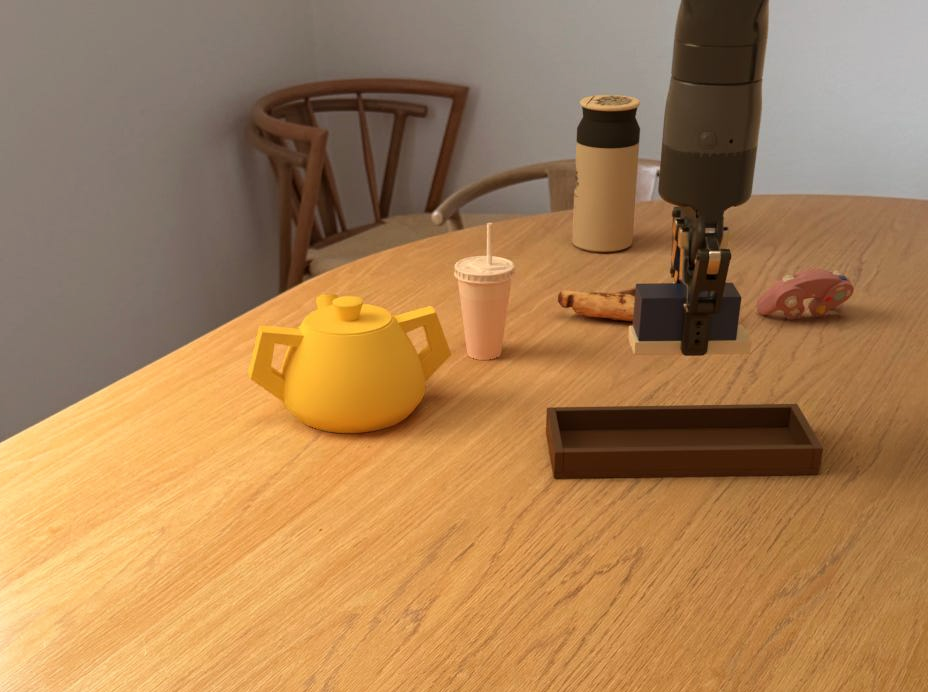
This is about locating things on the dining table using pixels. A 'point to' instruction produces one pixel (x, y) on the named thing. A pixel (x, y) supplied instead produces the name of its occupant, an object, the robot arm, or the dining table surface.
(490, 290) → the smoothie
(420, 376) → the teapot
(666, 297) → the navy block
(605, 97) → the travel mug
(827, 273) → the video game controller
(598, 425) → the shallow brown tray
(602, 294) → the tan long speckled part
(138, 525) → the dining table surface
